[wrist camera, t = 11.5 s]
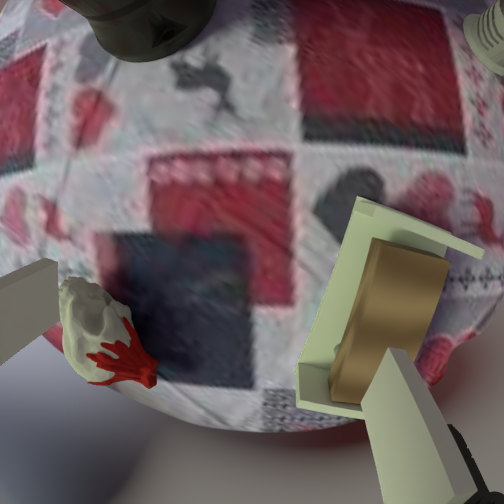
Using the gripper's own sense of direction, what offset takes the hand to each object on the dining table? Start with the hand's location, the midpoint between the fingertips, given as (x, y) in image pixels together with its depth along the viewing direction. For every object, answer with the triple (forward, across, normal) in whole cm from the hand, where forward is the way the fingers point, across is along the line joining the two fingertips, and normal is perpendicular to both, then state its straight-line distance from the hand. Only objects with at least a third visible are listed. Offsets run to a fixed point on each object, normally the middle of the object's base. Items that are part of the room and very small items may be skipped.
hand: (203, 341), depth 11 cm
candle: (+22, -14, -16) cm, 31 cm away
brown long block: (+19, +14, -5) cm, 24 cm away
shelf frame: (+22, +14, -5) cm, 27 cm away
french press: (+23, +25, +33) cm, 48 cm away
